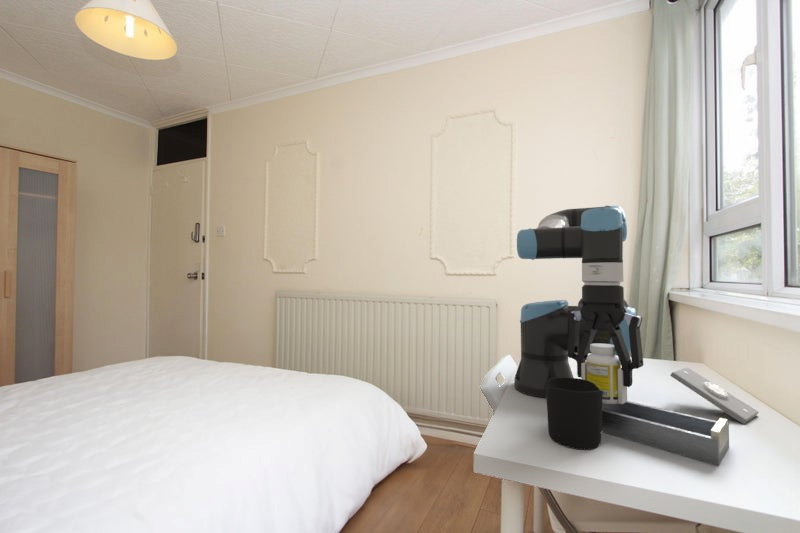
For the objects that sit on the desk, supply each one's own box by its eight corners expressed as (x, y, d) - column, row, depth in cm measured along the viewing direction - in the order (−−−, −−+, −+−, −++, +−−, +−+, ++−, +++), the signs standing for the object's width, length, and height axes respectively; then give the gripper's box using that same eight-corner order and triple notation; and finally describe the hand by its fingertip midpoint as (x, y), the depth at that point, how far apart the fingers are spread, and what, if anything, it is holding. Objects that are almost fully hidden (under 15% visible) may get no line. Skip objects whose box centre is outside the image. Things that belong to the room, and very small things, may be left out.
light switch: (749, 417, 74) (674, 368, 85) (731, 438, 76) (660, 388, 87) (762, 408, 79) (689, 363, 90) (745, 428, 81) (676, 382, 92)
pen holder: (612, 441, 67) (611, 385, 67) (588, 457, 61) (587, 395, 61) (562, 425, 74) (561, 374, 75) (536, 437, 68) (535, 383, 69)
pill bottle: (611, 395, 78) (610, 342, 79) (628, 405, 72) (627, 348, 72) (581, 394, 78) (580, 342, 79) (595, 404, 72) (594, 347, 73)
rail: (581, 425, 74) (580, 400, 74) (600, 413, 80) (600, 390, 81) (718, 466, 58) (717, 433, 58) (729, 446, 65) (728, 417, 65)
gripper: (548, 283, 81) (549, 390, 80) (651, 285, 66) (653, 415, 66) (564, 283, 86) (565, 384, 85) (663, 284, 71) (665, 406, 71)
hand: (603, 397), depth 75 cm, fingers closed on pill bottle, 6 cm apart
